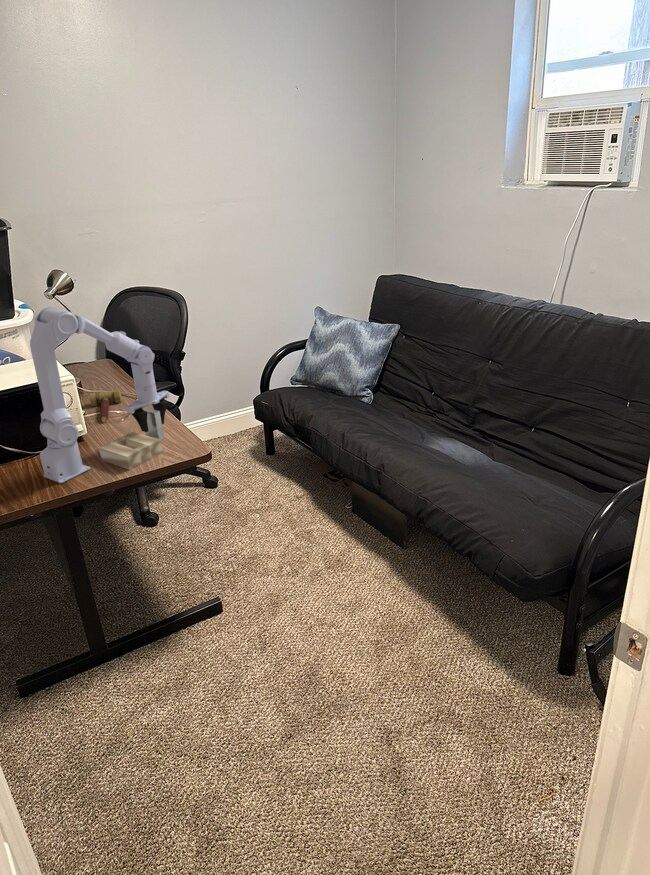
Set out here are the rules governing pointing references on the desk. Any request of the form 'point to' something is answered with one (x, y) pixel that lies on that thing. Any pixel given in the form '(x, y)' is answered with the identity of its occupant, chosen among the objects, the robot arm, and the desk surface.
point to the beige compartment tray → (131, 450)
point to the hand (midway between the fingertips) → (153, 427)
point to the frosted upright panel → (154, 424)
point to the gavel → (105, 401)
